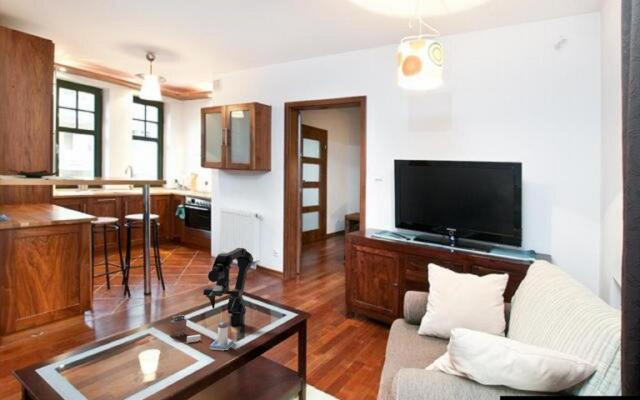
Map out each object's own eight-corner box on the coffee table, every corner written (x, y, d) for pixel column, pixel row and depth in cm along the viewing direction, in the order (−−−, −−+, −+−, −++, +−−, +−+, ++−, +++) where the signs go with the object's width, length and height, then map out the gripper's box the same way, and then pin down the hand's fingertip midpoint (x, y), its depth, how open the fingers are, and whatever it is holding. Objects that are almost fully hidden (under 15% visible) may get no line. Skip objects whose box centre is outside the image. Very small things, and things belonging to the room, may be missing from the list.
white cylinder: (225, 342, 168) (226, 321, 168) (228, 345, 164) (229, 324, 164) (216, 344, 165) (217, 322, 166) (219, 347, 162) (219, 325, 162)
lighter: (184, 332, 181) (185, 312, 181) (187, 334, 178) (188, 314, 178) (168, 336, 175) (169, 315, 175) (171, 338, 173) (172, 317, 173)
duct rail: (199, 339, 172) (199, 334, 172) (200, 340, 170) (200, 335, 170) (186, 341, 168) (186, 336, 168) (187, 342, 167) (187, 337, 167)
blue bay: (217, 341, 170) (217, 338, 170) (234, 343, 169) (234, 339, 169) (209, 349, 161) (209, 345, 161) (227, 350, 160) (227, 346, 160)
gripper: (198, 280, 173) (197, 312, 172) (235, 282, 170) (234, 315, 170) (208, 276, 184) (207, 306, 183) (243, 278, 182) (241, 308, 181)
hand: (222, 309), depth 179 cm, fingers open, 9 cm apart
